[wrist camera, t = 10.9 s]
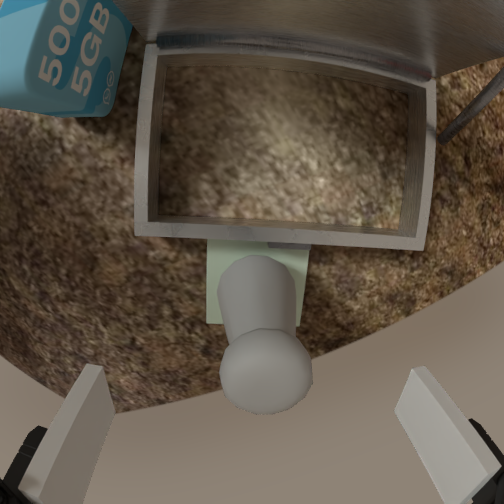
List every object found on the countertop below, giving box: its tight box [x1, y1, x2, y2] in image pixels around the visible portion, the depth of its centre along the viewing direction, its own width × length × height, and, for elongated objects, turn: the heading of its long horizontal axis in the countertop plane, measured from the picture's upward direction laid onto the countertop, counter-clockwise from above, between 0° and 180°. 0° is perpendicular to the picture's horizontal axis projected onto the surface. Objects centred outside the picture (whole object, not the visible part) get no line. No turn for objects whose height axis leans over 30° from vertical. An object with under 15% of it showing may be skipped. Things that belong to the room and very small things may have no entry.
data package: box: [0, 0, 133, 118], centre depth 14 cm, size 12×4×12 cm, turn 171°
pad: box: [206, 239, 309, 326], centre depth 25 cm, size 8×8×1 cm
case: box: [112, 0, 504, 251], centre depth 14 cm, size 23×16×17 cm
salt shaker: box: [217, 255, 313, 414], centre depth 18 cm, size 6×6×13 cm
